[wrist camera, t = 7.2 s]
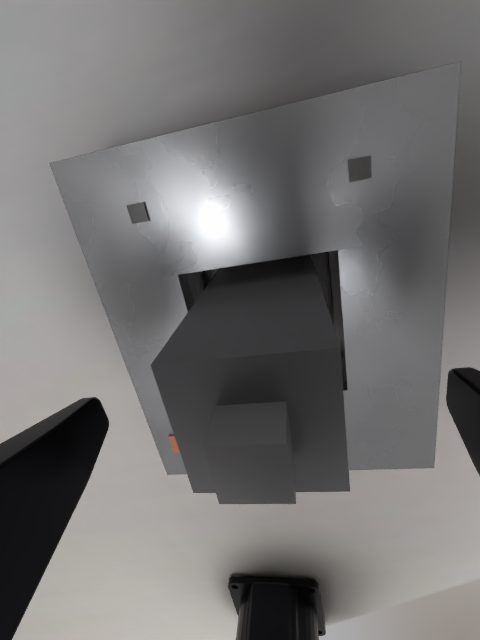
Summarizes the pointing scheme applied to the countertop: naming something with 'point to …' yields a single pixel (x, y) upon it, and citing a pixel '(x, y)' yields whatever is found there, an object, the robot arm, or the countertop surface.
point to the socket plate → (290, 240)
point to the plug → (257, 386)
